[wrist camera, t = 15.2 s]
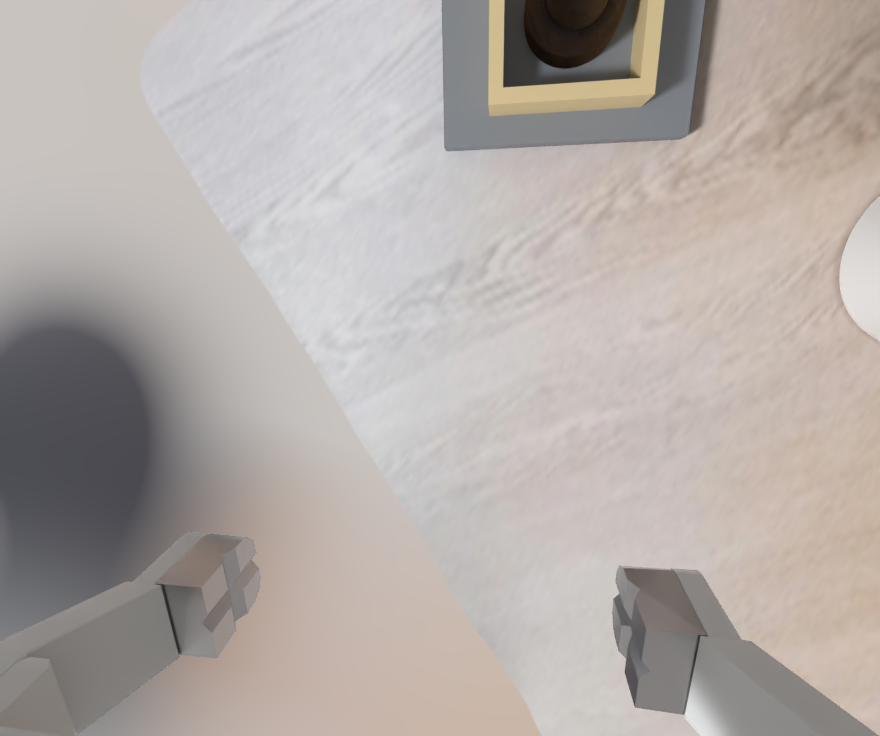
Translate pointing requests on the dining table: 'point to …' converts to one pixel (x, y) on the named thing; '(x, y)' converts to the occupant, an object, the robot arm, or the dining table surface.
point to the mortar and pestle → (570, 29)
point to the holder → (567, 79)
